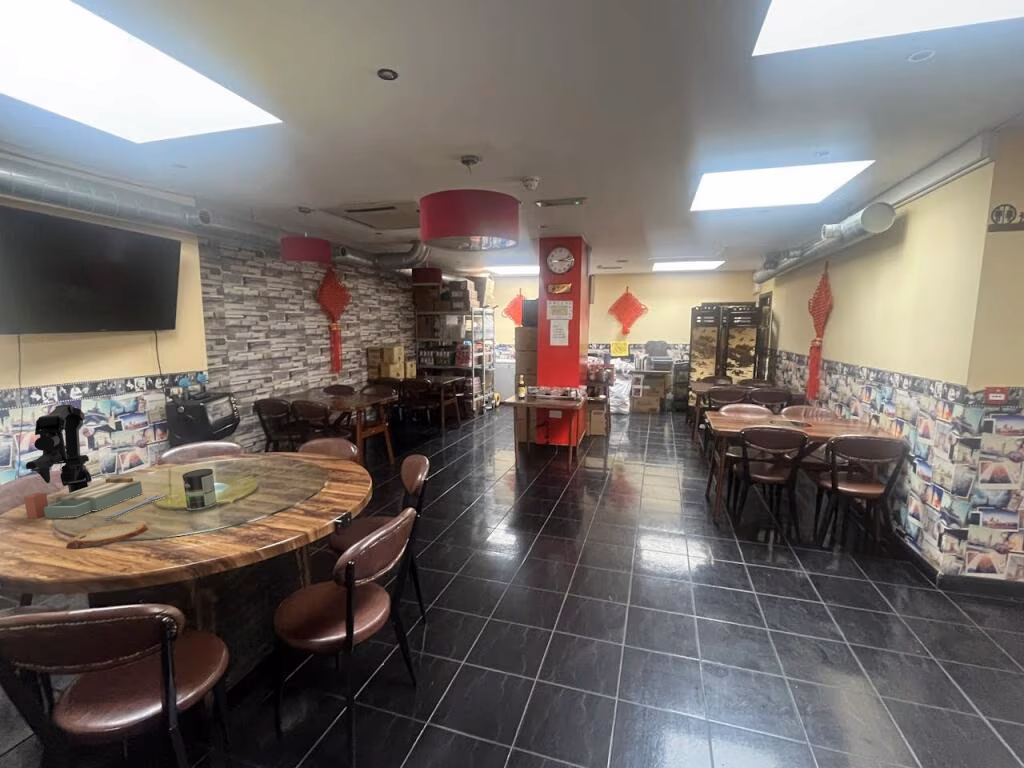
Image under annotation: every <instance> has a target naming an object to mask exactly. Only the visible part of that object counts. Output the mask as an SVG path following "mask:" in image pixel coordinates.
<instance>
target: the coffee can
mask: <svg viewBox="0 0 1024 768" xmlns="http://www.w3.org/2000/svg"><path fill="white" fill-rule="evenodd" d="M213 472H214V470H213V469H212V468H201V469H200V468H199V469H195V470H194V469H193V470H191V471H187V472H185V473H183V474H182V475H181V476H182V477H181V478H182V481H183V488H184V496H185V501H186V502H185V503H186V509H187V511H200V510H204V509H207V508H210V507H213V506H215V505H216V504H217V503H218V501H217V495H216V487H215V479H214V473H213Z"/></svg>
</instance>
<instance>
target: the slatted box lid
mask: <svg viewBox="0 0 1024 768" xmlns="http://www.w3.org/2000/svg"><path fill="white" fill-rule="evenodd" d="M139 483H141V484H142V482H141V480H134V479H133V477H108V478H105V480H104V481H101V482H98V483H95V484H93V485H90V486H89V485H88V487H86V488H83V489H80V490H77V491H74V492H71V493H69V492H68V493H66V494H62V495H60V496H57V497H56V501H57V500H95V499H98V498H101V497H104V496H106V495H109V494H112V493H114V492H117V491H120V490H123V489H125V488H128V487H131V486H133V485H136V484H139Z"/></svg>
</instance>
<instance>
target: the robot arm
mask: <svg viewBox="0 0 1024 768" xmlns="http://www.w3.org/2000/svg"><path fill="white" fill-rule="evenodd" d="M85 417H86V416H85V413H84V412H83V411H82V409H80V408H77V407H74V406H73V404H60V405H56V406H55V407H54V409H53V410H52V411H51V412H50V413H48V414H45V415H41V416H39V417H38V418H37V420H36V421H35V429H34V435H35V436H38V435H39V437H38V438H37V439H36V440H35V441H34V443H33V444H34V448H35V449H36V450H39V451H42V455H41V456H39V457H37V459H35V458H34V459H32V460H30V461H27V462H26V463H25V470H30V471H31V472H36V473H37V474H38V475H40V477H41V478H42V479H43V480H44V482H45V483H46V484H50V483H51V471H50V470H51V469H50V468H51V467H53V466H54V465H62V464H64V465H62V466H61V472H60V477H59V478H60V481H61V484H62V487H65V486H67V488H68V493H71V492H74V491H77V490H80V489H83V488H86V487H89V485H88V483H90V482H92V481H93V480H92V476H91V474H90V472H89V470H88V469H87V466H86V465H85V464H87V462H89V461H90V458H89V456H88V455H87V454H81V446H80V445H81V444H80V443H81V442H80V430H81V428H82V427H83V425H84V421H85ZM63 432H64V433H63Z"/></svg>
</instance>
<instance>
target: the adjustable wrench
mask: <svg viewBox="0 0 1024 768" xmlns="http://www.w3.org/2000/svg"><path fill="white" fill-rule="evenodd" d="M157 496H158V497H157ZM166 496H167V497H168V494H167V493H164V494H163V495H160V496H159V495H158V494H154V495H151V496H149V497H146V498H145V499H144V500H143V501H141V502H139V503H137V504H134V505H132V506H129V507H127V508H124V509H122V510H119V511H117V512H115V513H113V514H110V515H107V516H106V517H104V520H105V519H112V518H114V517H116V516H119V515H121V514H124V513H126V512H128V511H131V510H133V509H135V508H138V507H140V506H142V505H145V504H147V503H149V502H152V501H155V500H158V499H160V498H163V497H166ZM147 505H148V504H147ZM145 506H146V505H145ZM142 507H143V506H142ZM140 508H141V507H140ZM138 509H139V508H138ZM133 511H134V510H133ZM131 512H132V511H131ZM126 514H127V513H126ZM124 515H125V514H124ZM109 517H110V518H109Z"/></svg>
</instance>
